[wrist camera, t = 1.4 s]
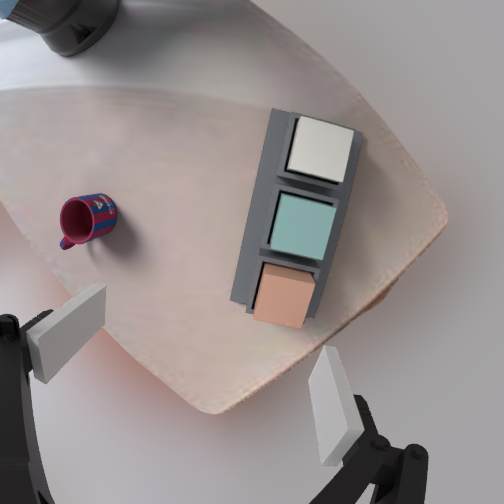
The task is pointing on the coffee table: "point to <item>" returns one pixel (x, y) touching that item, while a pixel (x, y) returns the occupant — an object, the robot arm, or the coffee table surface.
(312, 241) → the teal key
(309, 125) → the ivory key
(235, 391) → the coffee table surface
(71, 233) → the mug
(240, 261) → the console
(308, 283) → the terracotta key
